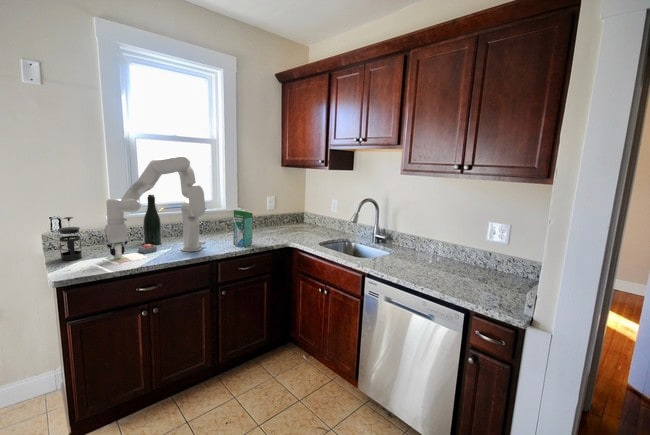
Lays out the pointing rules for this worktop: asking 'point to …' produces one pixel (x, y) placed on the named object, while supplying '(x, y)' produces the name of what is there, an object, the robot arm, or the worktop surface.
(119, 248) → the translucent whitish cylinder
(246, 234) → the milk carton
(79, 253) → the french press
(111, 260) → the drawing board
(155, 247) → the button housing
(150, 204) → the green wine bottle
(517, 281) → the worktop surface
